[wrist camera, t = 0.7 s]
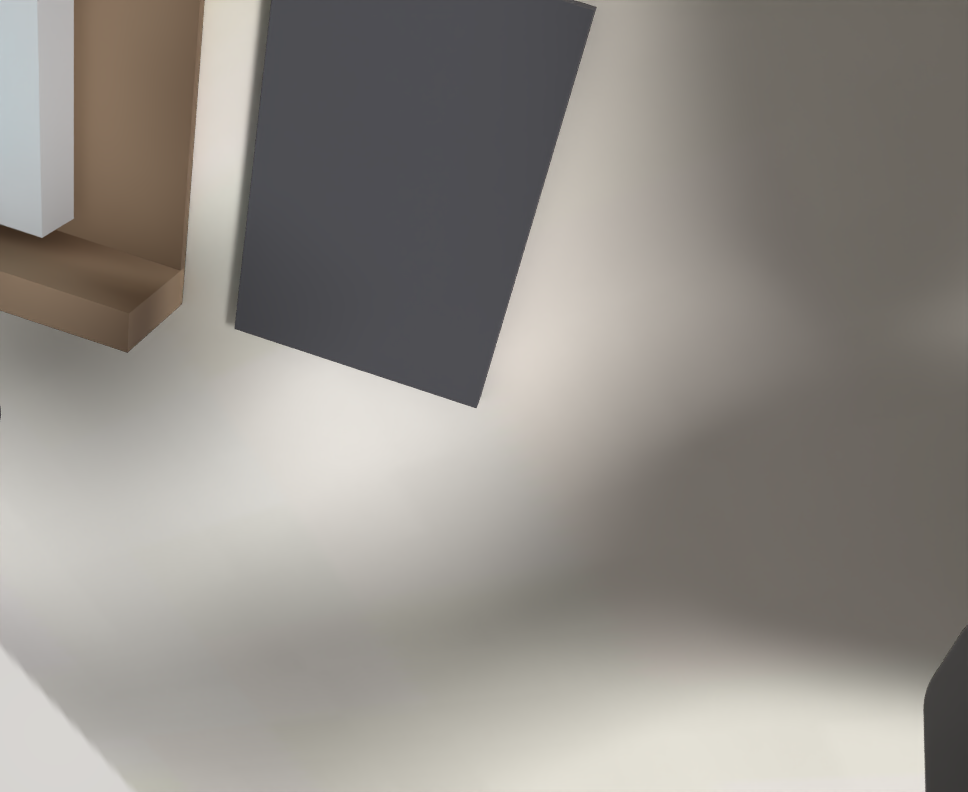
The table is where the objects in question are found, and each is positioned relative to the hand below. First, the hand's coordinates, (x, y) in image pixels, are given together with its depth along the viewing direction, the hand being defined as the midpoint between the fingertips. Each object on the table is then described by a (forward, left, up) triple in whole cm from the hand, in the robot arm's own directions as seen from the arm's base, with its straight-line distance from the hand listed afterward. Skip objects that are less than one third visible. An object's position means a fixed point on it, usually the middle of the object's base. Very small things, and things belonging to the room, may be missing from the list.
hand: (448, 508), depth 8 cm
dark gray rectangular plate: (+2, +4, -12) cm, 13 cm away
